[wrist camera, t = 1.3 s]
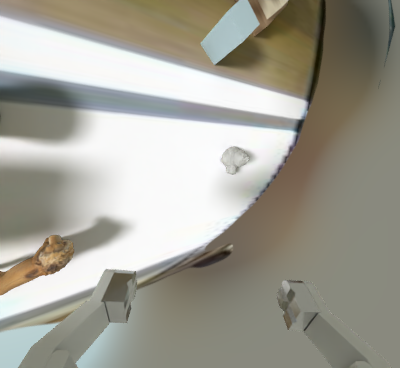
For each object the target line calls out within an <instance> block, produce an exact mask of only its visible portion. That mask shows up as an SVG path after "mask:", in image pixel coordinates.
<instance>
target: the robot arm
mask: <svg viewBox="0 0 400 368" xmlns="http://www.w3.org/2000/svg"><path fill="white" fill-rule="evenodd" d="M135 278H136V271H127V270H114V269H106V270H105V271H104V272H103V274H102V276H101V279H100V281H99V283H98V285H97V287H96V289H95V291H94V293H93V295H92V297H91V299H90V301H86V302H84V303H83V304H82V305H81V306H80V307H78V308H77V309H76V310H75V311H74V312H72V313H71V314H70V315H69V316H68V317H67V318H65V319H64V320H63V321H62V322H61V323H59V324H58V325H57V326H56V327H55V328H53V330H51V331H50V332H49V333H47V334H46V335H45V336H44V337H43V338H41V339H40V340H39V341H38V342H37V343H35V344H34V345H33V346H32V347H31V348H30V350H29V352H28V353H27V355H26V356H25V358H24V359H23V361H22V362H21V364H20V366H19V367H18V368H78V367H77V365H76V364H75V363H76V361H78V359H79V358H80V357H81V356H82V355H83V354H84V352H85V351H86V350H87V349H88V348H89V347H90V346H91V344H92V343H93V342H94V341H95V340H96V339H97V338H98V336H99V335H100V334H101V333H102V332H103V331H104V329H105V328H106V327H107V326H108V325H109V322H115V323H127V321H128V317H129V314H130V311H131V302H132V301H133V300H134V297H135V294H136V289H137V280H136V279H135ZM282 286H283V287H281V288H280V289H279V290H278V292H277V299H278V303H279V306H280V308H281V309H282V310H283V311H284V314H283V317H284V320H285V323H286V326H287V329H288V330H292V331H304V333H305V334H306V336H307V337H308V338H309V339H310V341H311V342H312V343H313V344H314V345H315V347H316V348H317V349H318V350H319V352H320V353H321V354H322V355H323V357H324V358H325V359H326V360H327V362H328V363H329V364H330V365H331V366H332V368H392V367H391V366H390V364H389V363H388V362H387V360H385V359H384V358H383V357H382V356H381V355H380V354H378V353H377V352H376V351H375V350H374V349H373V348H372V347H370V346H369V345H368V344H367V343H366V342H365V341H364V340H363V339H362V338H360V337H359V336H358V335H357V334H356V333H355V332H354V331H353V330H351V329H350V328H349V327H348V326H347V325H346V324H345V323H343V322H342V321H341V320H340V319H339V318H338V317H337V316H336V315H334V314H331V313H330V311H329V309H328V308H327V306H326V304H325V302H324V301H323V299H322V297H321V295H320V294H319V292H318V290H317V289H316V287H315V285H314V284H313V283H312V282H307V281H292V280H284V281H283V282H282Z"/></svg>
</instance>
